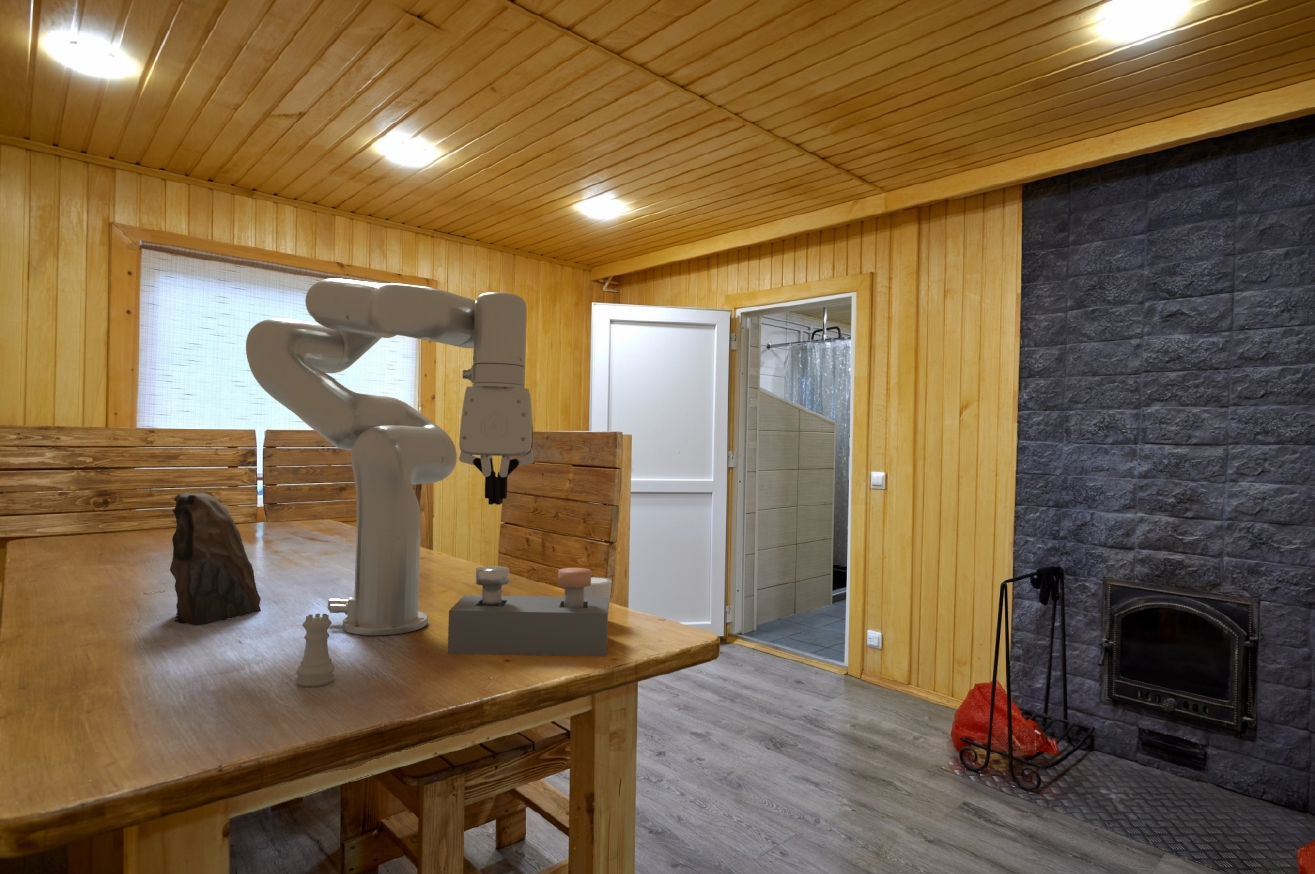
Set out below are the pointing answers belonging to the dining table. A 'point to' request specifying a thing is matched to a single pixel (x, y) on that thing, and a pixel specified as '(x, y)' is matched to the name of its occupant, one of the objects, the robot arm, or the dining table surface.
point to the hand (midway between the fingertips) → (495, 503)
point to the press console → (528, 626)
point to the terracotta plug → (574, 585)
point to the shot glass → (599, 588)
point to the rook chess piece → (316, 654)
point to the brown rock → (210, 563)
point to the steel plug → (492, 583)
